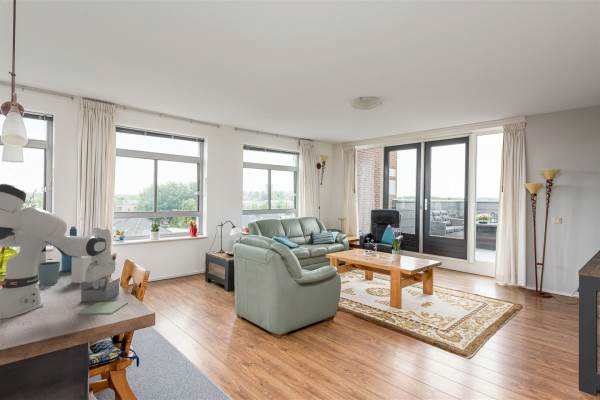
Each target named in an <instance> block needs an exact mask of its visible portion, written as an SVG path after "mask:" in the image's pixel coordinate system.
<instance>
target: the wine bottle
mask: <svg viewBox="0 0 600 400" xmlns="http://www.w3.org/2000/svg"><path fill="white" fill-rule="evenodd" d="M77 229H78V228H77V227H76V226H73V225H72V226H71V227H70V229H69V235H71V236H78V231H77ZM72 257H73V256H64V255H62V254H61V253H60V269H61V272H68V273H69V272H72Z"/></svg>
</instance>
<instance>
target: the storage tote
mask: <svg viewBox="0 0 600 400" xmlns="http://www.w3.org/2000/svg"><path fill="white" fill-rule="evenodd" d="M120 281H121V276H118V277H117V278H115V279H112V280H110V281H109V282H108V283H107V284H106V289H105V291H93V282H86V281H84V282H81V283H79V287H80V292H81V293H80V295H81V296H80V298H81V299H80V301H81V302H108V301H109V300H111V299H113V298H114V297H116V296H117V295H119V294H120Z"/></svg>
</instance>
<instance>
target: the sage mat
mask: <svg viewBox="0 0 600 400" xmlns="http://www.w3.org/2000/svg"><path fill="white" fill-rule="evenodd" d="M128 304H129V303H128V301H96V303H94V304H93V305H90V306H88V307H87V308H84V310H81V311H79V315H112V313H113V314H114V313H115V311H116V312H117V311H118V309H119V310H120V309H121V308H123V307H125V306H126V305H128Z"/></svg>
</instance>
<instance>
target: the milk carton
mask: <svg viewBox="0 0 600 400" xmlns="http://www.w3.org/2000/svg"><path fill="white" fill-rule="evenodd" d="M90 263H91V256H73V257H72V271H71V284H80V283H81V282H84V281H86V280H85V276H86V269H87V267H88V266H89V264H90Z"/></svg>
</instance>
